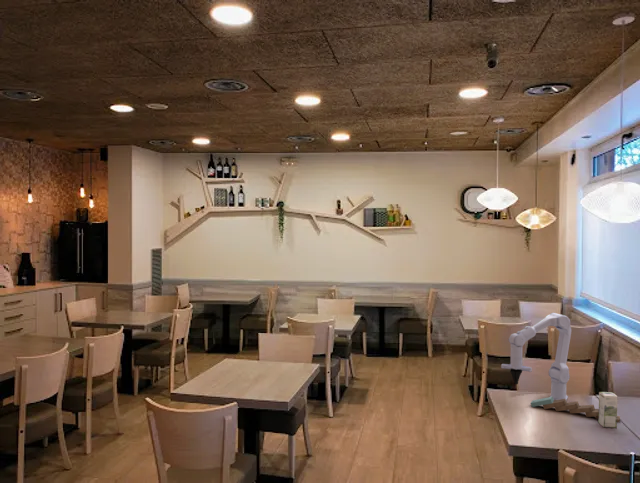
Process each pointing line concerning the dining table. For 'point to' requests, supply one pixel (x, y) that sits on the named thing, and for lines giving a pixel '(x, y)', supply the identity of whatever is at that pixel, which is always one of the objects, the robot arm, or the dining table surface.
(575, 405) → the domino
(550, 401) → the domino
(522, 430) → the dining table surface
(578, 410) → the domino
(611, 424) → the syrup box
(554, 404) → the domino
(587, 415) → the domino
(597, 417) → the domino
